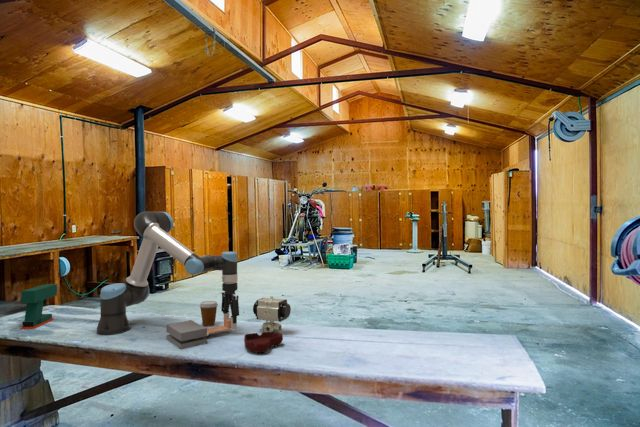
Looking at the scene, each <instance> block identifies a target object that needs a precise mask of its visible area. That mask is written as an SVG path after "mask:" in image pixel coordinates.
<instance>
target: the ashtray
mask: <svg viewBox="0 0 640 427" xmlns="http://www.w3.org/2000/svg"><path fill="white" fill-rule="evenodd" d="M283 341H284V336H283V333H281V332H278V333H276V332H265V331H264V332H262V333H261V334H258V332H255V333H246V334H245V335H244V339H243V342H244V346H245V347H246V349H247V350H248V351H249V352H253V353H256V354H257V355H262V354H264V353H265V352H266V351H268V350H269V349H271V348H273V347H277V346H279V345H280V344H282V342H283Z"/></svg>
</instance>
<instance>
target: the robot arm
mask: <svg viewBox="0 0 640 427" xmlns="http://www.w3.org/2000/svg"><path fill="white" fill-rule="evenodd" d="M133 227H134V229H135V231H136V232H137V234H138V235H140V236H141V237H142V238H143V239H142V241H141V244H140V246H139V251H138V253H137V256H136V259H135V262H134V264H133V266H132V270H131V273H130V275H129V276H128V277H126V278H125V281H124V283H123V282H122V283H121V282H120V283H119V282H118V283H117V282H116V283H113V284H111V283H110V284H107V285H105V286H103V287H102V288H101V289H100V295H99V298H100V299H99V300H100V301H99V302H100V318H99V320H98V324H97V326H96V334H97V335H101V336H102V335H103V336H105V335H106V336H107V335H110V336H111V335H117V334H122V333H126V332H128V331H129V330H131V328H130V327H131V324H130V322H129V318H128V316H127V307H130V306H131V307H132V306H133V305H139V304H141V303H143V302H145V301H146V300H147V299H148V297H149V295H150V291H151V290H150V286H149V282H148V280H147V279H148V278H149V277H148V276H149V274H150V272H151V268H152V266H153V263H154V260H155V257H156V255H157V252H158V249H159V248H161V249H162V251H164V252H166V253H167V254H168V255H170V256H171V257H172V258H173V259H175V260H177V261H178V262H180V264H182V265H183V266H184V267H185V268H184V269H185V270H186V273H187V274H189V275H200V274H203V273H207V272H211V271H221V273H222V275H221V281H222V284H221V286H222V287H221V289H222V291H223V292H221V312H222V314H223V320H224V319H229V318H231V328H230V330H231V331H235V330H237V329H238V325H237V322H238V321H237V320H238V319H237V318H238V317H239V316H240V307H239V295H236V291H237V290H238V253H237V252H236V251H223V252H222V253H221V255H210V254H208V255H205V254H204V255H201V256H199V255H198V254H196V253H195V252H194V251H192V250H191V249H189V248H188V247H187V246H186V245H184V244H183V243H181V242H180V241H179V240H177V239H176V238H175V237H173V236H172V235H171V234H170V233H169V232H171V231H172V230H173V228H174V220H173V216H171V214H170V213H168V212H166V211H161V210H159V211H150V210H149V211H148V210H147V211H142V212H140V213H138V214H137V215H136V216H135V217H134V219H133ZM230 312H231V315H230Z"/></svg>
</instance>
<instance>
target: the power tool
mask: <svg viewBox="0 0 640 427" xmlns="http://www.w3.org/2000/svg"><path fill="white" fill-rule="evenodd" d="M59 288H60V286H58V284H57V283H50V284H49V283H47V284H46V283H45V284H41V285H37V286H34V287H31V288H28V289H23V290H21V291H20V292H21V294H20V295H21V296H20V297H21V298H20V300H21V302H20V304H22V305H23V304H26V307H25V314H24V321H22V327H20V330H21V329H24V330H36V329H37V327H38V328H39V327H42V326H43V325H46V324H48V323H50V322H53V321H54V317H53V313H43V309H44V307H45V306H47V300H49V299H50V298H52V297H56V296H58V290H59Z"/></svg>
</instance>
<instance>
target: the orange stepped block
mask: <svg viewBox="0 0 640 427" xmlns="http://www.w3.org/2000/svg"><path fill="white" fill-rule="evenodd" d="M206 328H207V327H206ZM229 329H230V330H231V317H229V319H224V318H223V325H219V326H214V327H212V326H211V327H208V328H207V333H209V335H210V334H214V333H220V332H223V331H229Z"/></svg>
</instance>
